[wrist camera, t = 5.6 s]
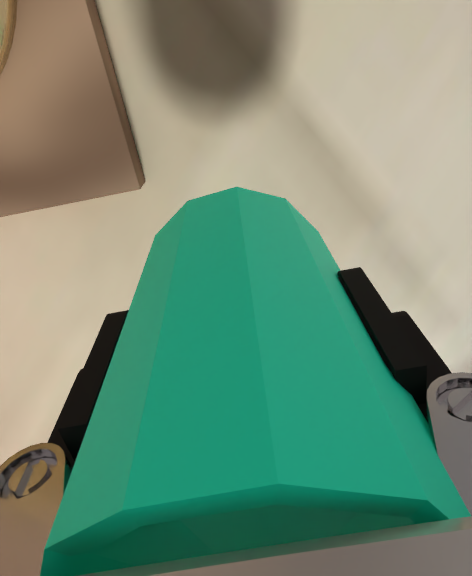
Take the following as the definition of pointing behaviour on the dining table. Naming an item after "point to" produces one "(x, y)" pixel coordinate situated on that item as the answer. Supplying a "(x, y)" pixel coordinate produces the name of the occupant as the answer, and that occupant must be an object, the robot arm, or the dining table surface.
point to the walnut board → (62, 112)
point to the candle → (243, 405)
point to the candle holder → (6, 29)
